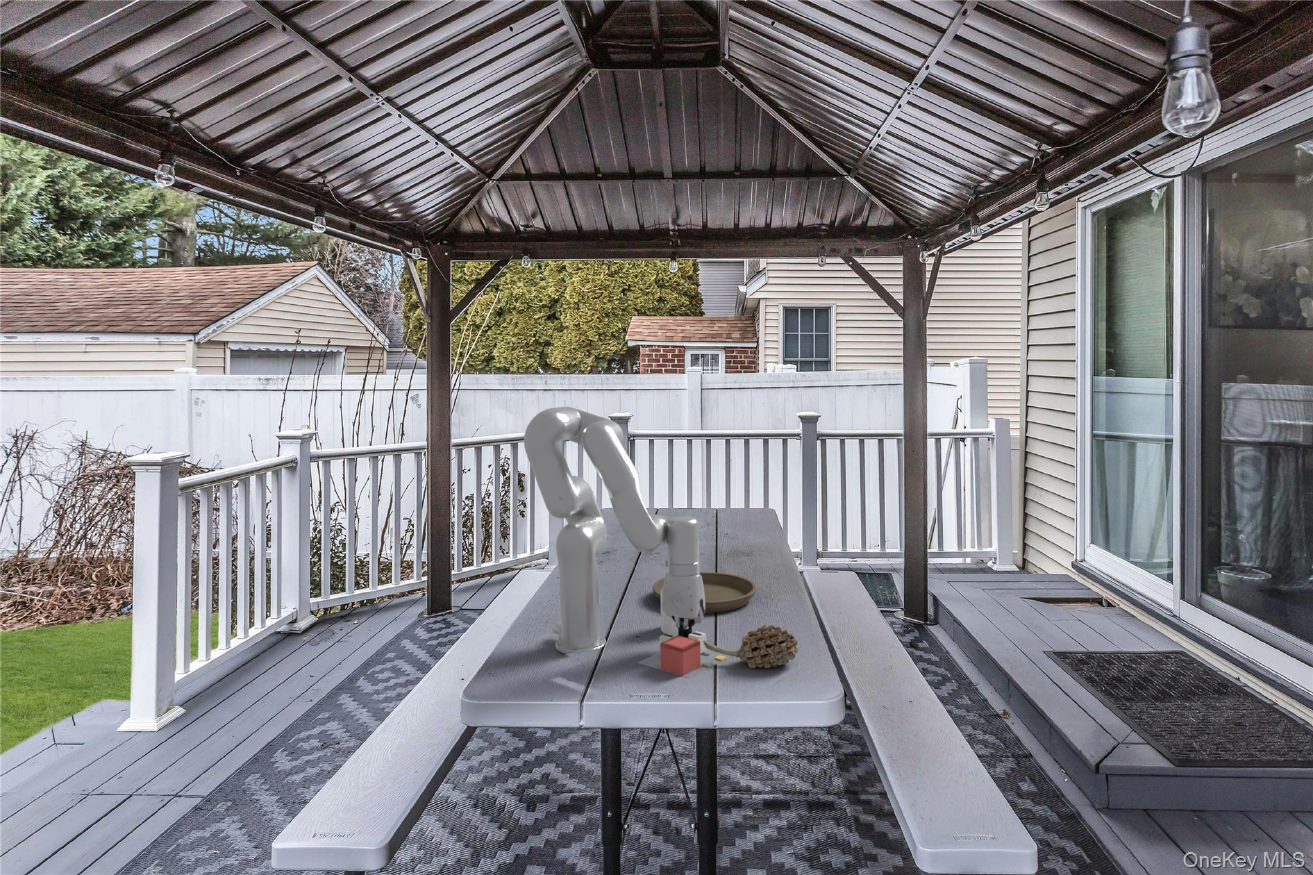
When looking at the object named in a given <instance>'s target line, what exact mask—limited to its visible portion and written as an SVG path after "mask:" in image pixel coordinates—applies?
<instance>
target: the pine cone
mask: <svg viewBox="0 0 1313 875" xmlns="http://www.w3.org/2000/svg"><path fill="white" fill-rule="evenodd" d="M702 642H704V645H705V647H706V648H707V649H710V650H711V651H714V652H718V653H721V654H725V655H729V656H731V657H736V658H739V659H740V660H741V661H744V662H746V663H747V665H748V668H750V669H755V668H762V667H763V668H765V669H771V668H777V667H778V666H782V664H784V665H786V664H788V663H789V662H790V661H792V660H794V659H795V658H796V655H797V653H798V650H799V648H798V647H797V646H798V640H797V639H796V636H795V635H793V633H788V630H787V629H784V630H782V628H781V627H780V626H775V625H772V624H770V625H766V624H764V625H762V626H761V627H757V629H756V630H751V631H747V635H745V636H743V637H742V638H741V644H740V647H739V649H738V650H732V649H727V648H723V647H720V646H717V645H715V644H713V643H711V642H709V641H707V640H706V641H705V640H704V641H702ZM789 660H790V661H789Z"/></svg>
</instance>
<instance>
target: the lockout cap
mask: <svg viewBox="0 0 1313 875" xmlns="http://www.w3.org/2000/svg"><path fill="white" fill-rule="evenodd" d="M660 648H661V669H662V670H661V671H663V670H666V671H669V672H672V673H671V674H673V673H676V674H679V675H682V676H681V677H683V676H684V675H686V674H688V673H690V672H692V671H694V670H696V669H697V668H699V667H701V665H700V641H698V640H694V639H690V638H686V637H682V636H678V635H677V636H675V637H673V638H671V639H669V640H666V641H664V642H662V643H660V642H659V649H660ZM666 671H665V672H666ZM669 672H668V673H669ZM676 674H675V675H676ZM679 675H678V676H679Z"/></svg>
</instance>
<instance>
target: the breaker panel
mask: <svg viewBox="0 0 1313 875" xmlns="http://www.w3.org/2000/svg"><path fill="white" fill-rule="evenodd" d="M675 636H678V635H674V634H670V633H666V634H665V633H663V634H661V635H659V644H660V643H662V642H664V641H666V640H669V639H671V638H673V637H675ZM731 657H732V656H729V655H725V654H721V653H718V652H714V651H711V650H710V649H707V648H706V651H705V652H703V653H701V654H700V665H701V667H699V668H697V669H696V670H694V671H692V672H690V673H688V674H686V675H684V676H682V675H679V674H676V673H672V672H669V671H666V670H662V669H661V648H660V647H659V652H657V653H655V654H653V655H651V656H649V657H647V658H645V659H642V660H640V661H638V662H637V664H640V665H643V666H647V667H650V668H653V669H656V670H661V671H663V672H666V673H670V674H673V675H677V676H679V677H683V678H687V679H691V678H692V677H694V676H696V675H699V674H701V673H702V672H704V671H705V670H707V669H710V668H712V667H714V666H716V665H717V664H719V663H721V662H723V661H726V660H727V659H729V658H731Z"/></svg>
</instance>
